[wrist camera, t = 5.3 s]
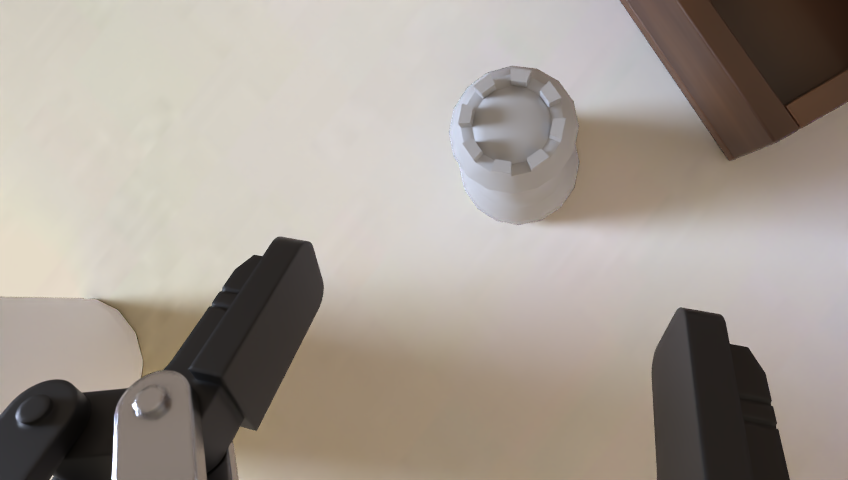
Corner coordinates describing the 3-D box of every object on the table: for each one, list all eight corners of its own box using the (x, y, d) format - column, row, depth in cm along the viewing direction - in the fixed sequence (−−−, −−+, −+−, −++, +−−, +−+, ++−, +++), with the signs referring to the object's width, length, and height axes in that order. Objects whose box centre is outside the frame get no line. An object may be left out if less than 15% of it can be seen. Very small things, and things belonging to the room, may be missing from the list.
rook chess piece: (445, 141, 20) (392, 78, 12) (550, 92, 19) (562, -8, 12) (488, 242, 20) (460, 243, 12) (596, 197, 19) (642, 167, 11)
